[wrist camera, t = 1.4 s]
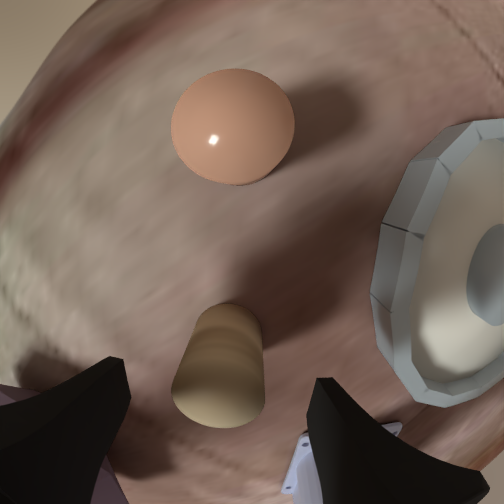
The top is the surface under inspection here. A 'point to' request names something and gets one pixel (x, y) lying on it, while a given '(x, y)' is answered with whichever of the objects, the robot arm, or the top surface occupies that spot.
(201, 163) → the peach rounded cylinder
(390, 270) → the groove tray
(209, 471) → the top surface
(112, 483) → the flask
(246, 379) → the tan rounded cylinder
